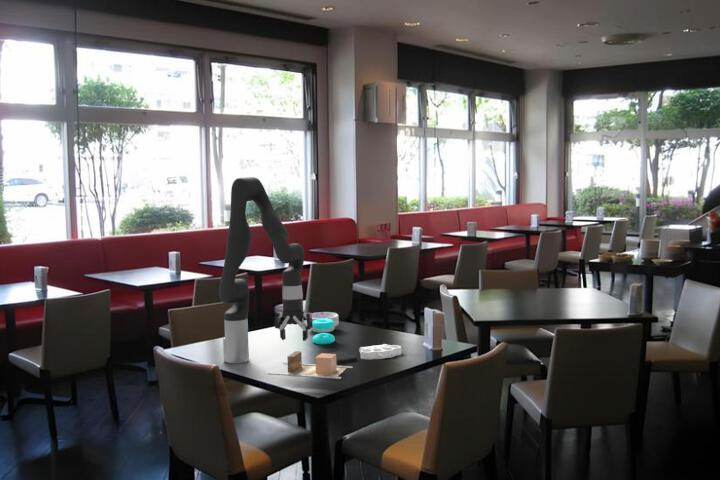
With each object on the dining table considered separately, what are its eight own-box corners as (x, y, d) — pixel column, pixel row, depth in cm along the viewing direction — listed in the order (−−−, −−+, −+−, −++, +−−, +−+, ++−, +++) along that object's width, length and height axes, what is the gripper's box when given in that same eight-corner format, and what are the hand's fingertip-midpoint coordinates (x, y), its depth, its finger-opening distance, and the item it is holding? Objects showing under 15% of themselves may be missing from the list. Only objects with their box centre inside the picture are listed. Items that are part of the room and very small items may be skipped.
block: (315, 373, 241) (315, 357, 240) (321, 368, 246) (321, 353, 246) (331, 374, 239) (330, 358, 239) (336, 369, 245) (336, 354, 244)
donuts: (313, 318, 298) (334, 318, 298) (313, 339, 299) (335, 339, 299) (311, 322, 288) (333, 322, 288) (311, 345, 289) (334, 344, 289)
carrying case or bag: (362, 364, 258) (343, 356, 270) (362, 356, 257) (343, 349, 270) (339, 368, 252) (320, 360, 264) (339, 360, 252) (320, 353, 264)
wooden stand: (285, 376, 241) (284, 357, 240) (297, 367, 253) (296, 349, 252) (336, 379, 235) (336, 360, 235) (346, 370, 247) (346, 352, 246)
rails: (268, 377, 241) (268, 373, 241) (284, 366, 256) (284, 362, 256) (340, 382, 233) (340, 377, 233) (352, 370, 248) (352, 366, 248)
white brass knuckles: (390, 349, 280) (407, 356, 267) (352, 354, 273) (367, 362, 260) (389, 341, 280) (407, 348, 267) (351, 346, 272) (367, 354, 259)
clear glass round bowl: (321, 336, 306) (320, 319, 306) (301, 331, 318) (300, 315, 317) (345, 330, 317) (345, 314, 316) (325, 326, 328) (325, 310, 327)
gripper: (270, 298, 242) (272, 341, 244) (306, 299, 238) (308, 343, 240) (279, 295, 250) (280, 337, 251) (314, 295, 246) (315, 338, 247)
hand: (294, 339), depth 245 cm, fingers open, 8 cm apart
